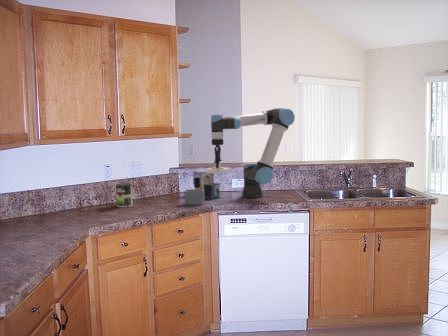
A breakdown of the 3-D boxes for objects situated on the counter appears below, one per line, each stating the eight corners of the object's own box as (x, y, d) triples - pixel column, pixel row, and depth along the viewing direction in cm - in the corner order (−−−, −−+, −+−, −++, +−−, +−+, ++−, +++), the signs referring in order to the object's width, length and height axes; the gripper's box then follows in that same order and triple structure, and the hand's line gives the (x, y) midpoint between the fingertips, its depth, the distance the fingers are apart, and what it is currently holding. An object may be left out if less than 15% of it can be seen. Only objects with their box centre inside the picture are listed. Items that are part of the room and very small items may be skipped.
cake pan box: (193, 193, 358) (192, 170, 356) (198, 193, 361) (197, 169, 359) (210, 196, 344) (209, 171, 342) (215, 195, 347) (214, 171, 345)
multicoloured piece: (127, 207, 309) (126, 185, 308) (113, 206, 313) (112, 185, 311) (135, 204, 319) (134, 183, 317) (122, 204, 322) (121, 183, 321)
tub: (204, 202, 319) (204, 189, 318) (203, 204, 311) (203, 191, 310) (186, 203, 319) (185, 189, 318) (185, 205, 311) (184, 191, 310)
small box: (211, 200, 328) (210, 184, 327) (203, 199, 332) (203, 184, 331) (220, 197, 336) (220, 183, 335) (213, 197, 340) (212, 182, 339)
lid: (229, 170, 318) (229, 166, 317) (228, 172, 306) (228, 168, 305) (208, 171, 318) (207, 166, 318) (206, 173, 306) (206, 168, 306)
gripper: (212, 138, 322) (213, 170, 324) (210, 139, 298) (211, 174, 300) (224, 137, 322) (224, 170, 324) (222, 139, 298) (223, 174, 300)
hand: (218, 172), depth 312 cm, fingers closed on lid, 12 cm apart
